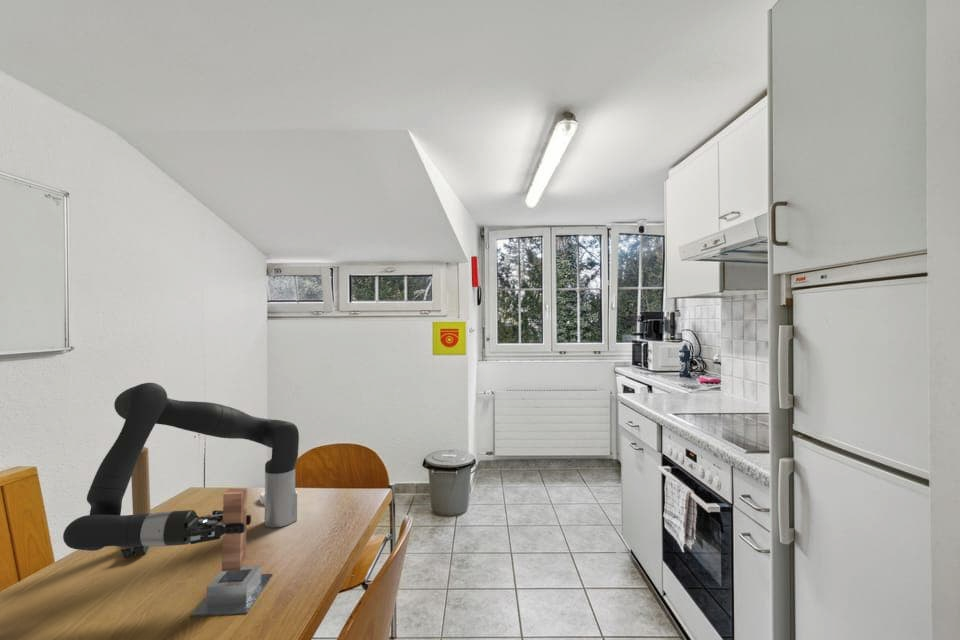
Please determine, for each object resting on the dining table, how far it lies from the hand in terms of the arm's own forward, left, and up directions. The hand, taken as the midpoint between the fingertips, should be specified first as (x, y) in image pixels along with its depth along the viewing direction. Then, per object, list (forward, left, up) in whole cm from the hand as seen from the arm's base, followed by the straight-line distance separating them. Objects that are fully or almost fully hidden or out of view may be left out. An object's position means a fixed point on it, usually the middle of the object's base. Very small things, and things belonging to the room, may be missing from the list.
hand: (247, 523), depth 111 cm
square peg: (+2, -1, -10) cm, 10 cm away
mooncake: (-25, -59, -17) cm, 67 cm away
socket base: (+2, -1, -17) cm, 17 cm away
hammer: (+17, -47, -17) cm, 53 cm away
